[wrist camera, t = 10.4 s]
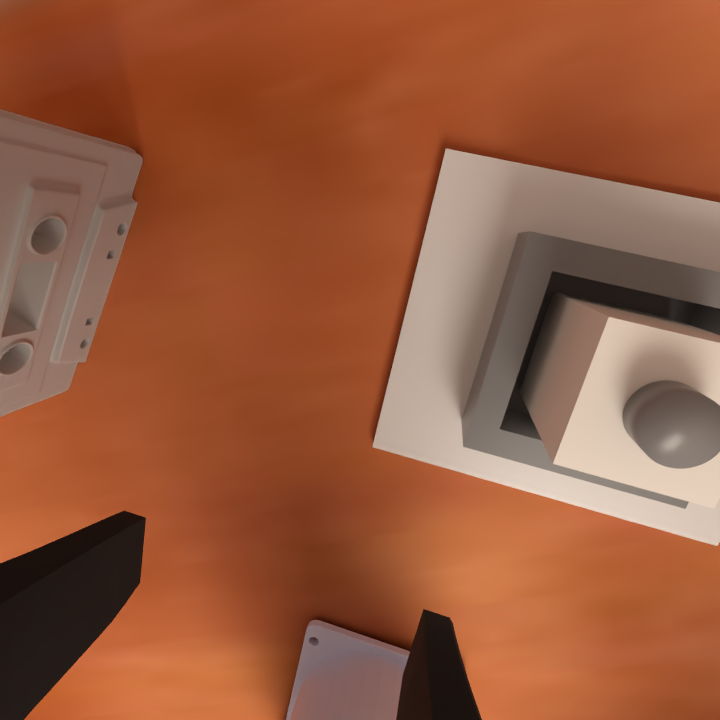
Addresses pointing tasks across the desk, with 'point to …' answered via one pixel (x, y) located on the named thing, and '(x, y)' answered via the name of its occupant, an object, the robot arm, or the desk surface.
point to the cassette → (56, 250)
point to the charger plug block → (628, 397)
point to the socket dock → (537, 318)
